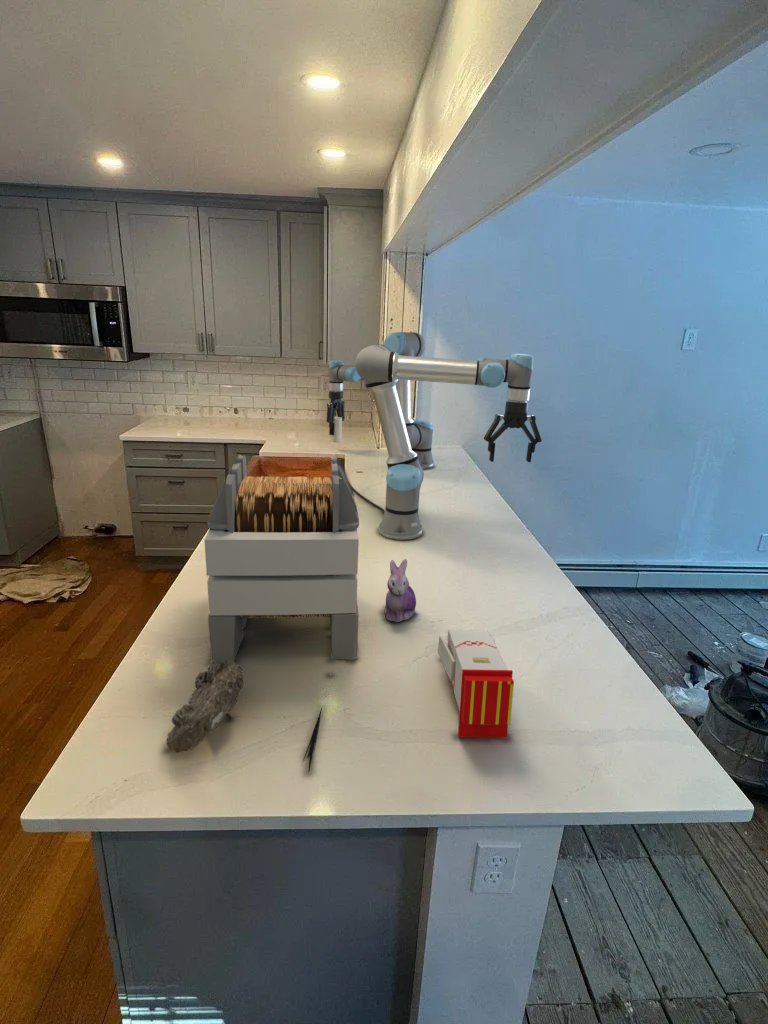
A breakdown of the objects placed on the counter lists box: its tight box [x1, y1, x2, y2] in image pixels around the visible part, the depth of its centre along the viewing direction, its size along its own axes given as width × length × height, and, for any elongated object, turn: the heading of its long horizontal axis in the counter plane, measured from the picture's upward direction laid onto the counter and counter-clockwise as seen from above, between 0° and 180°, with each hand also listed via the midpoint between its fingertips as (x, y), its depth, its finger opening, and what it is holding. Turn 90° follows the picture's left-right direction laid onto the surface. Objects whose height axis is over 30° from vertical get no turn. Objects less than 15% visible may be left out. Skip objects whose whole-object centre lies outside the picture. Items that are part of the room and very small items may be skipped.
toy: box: [437, 628, 515, 738], centre depth 117 cm, size 12×13×30 cm
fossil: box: [166, 659, 245, 754], centre depth 106 cm, size 22×10×15 cm
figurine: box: [384, 558, 417, 623], centre depth 145 cm, size 9×10×15 cm
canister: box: [328, 416, 343, 443], centre depth 307 cm, size 7×7×13 cm
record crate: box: [204, 454, 360, 662], centre depth 134 cm, size 34×33×41 cm
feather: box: [301, 673, 332, 771], centre depth 108 cm, size 2×28×2 cm
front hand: (509, 461), depth 201 cm, fingers open, 13 cm apart
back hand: (335, 433), depth 308 cm, fingers closed on canister, 7 cm apart
